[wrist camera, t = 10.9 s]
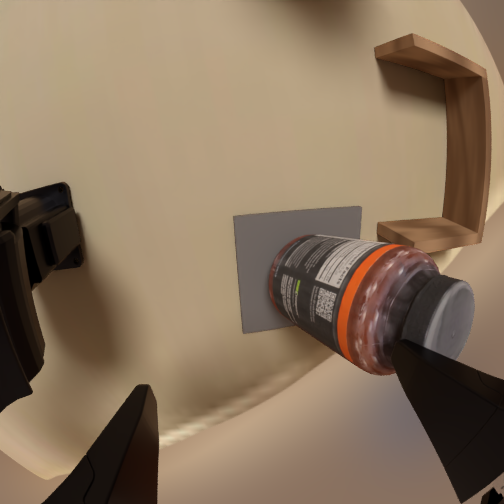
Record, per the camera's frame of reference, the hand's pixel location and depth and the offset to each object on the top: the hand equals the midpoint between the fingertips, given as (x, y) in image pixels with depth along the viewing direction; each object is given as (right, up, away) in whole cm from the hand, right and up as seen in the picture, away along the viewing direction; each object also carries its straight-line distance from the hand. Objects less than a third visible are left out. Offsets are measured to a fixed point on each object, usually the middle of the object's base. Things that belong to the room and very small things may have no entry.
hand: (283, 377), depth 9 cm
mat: (+3, +3, +14) cm, 14 cm away
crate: (+14, +14, +11) cm, 23 cm away
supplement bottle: (+3, +2, +13) cm, 13 cm away
